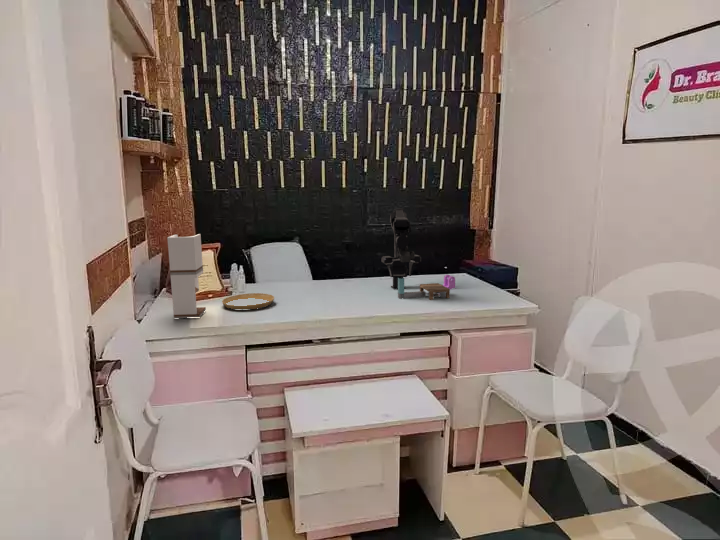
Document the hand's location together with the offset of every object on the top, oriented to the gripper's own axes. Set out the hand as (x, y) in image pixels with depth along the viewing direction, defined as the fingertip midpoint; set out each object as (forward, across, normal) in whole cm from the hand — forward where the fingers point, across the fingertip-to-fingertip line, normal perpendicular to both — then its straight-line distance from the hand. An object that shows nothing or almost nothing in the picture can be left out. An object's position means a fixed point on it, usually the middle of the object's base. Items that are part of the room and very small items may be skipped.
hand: (401, 276), depth 238 cm
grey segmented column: (+11, -99, -7) cm, 99 cm away
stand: (+11, +17, 0) cm, 20 cm away
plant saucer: (+11, -74, +5) cm, 75 cm away
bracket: (+11, +27, +14) cm, 33 cm away
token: (+11, +18, 0) cm, 21 cm away
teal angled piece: (+11, +6, 0) cm, 12 cm away
